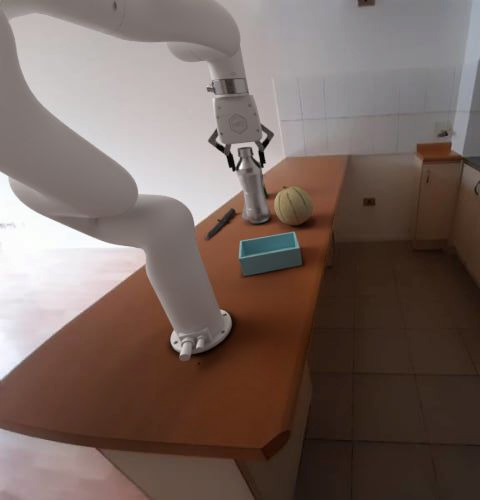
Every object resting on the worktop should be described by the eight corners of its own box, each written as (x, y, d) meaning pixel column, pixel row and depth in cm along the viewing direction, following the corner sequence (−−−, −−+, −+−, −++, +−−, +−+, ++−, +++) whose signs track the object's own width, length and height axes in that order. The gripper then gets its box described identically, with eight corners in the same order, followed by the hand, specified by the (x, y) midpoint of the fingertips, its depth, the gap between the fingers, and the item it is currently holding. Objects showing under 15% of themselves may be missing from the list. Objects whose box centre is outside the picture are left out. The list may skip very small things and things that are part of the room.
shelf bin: (302, 265, 83) (299, 247, 80) (243, 276, 80) (238, 258, 77) (297, 247, 93) (294, 231, 90) (244, 257, 90) (240, 240, 86)
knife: (229, 211, 123) (230, 206, 122) (238, 216, 124) (240, 211, 122) (196, 236, 102) (198, 231, 101) (208, 243, 103) (210, 237, 102)
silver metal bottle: (266, 226, 76) (251, 150, 66) (243, 225, 78) (225, 151, 68) (275, 216, 82) (262, 145, 72) (253, 216, 83) (238, 146, 73)
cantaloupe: (312, 231, 102) (307, 192, 95) (273, 232, 104) (265, 193, 96) (316, 215, 115) (313, 179, 108) (282, 216, 116) (276, 181, 109)
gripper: (188, 92, 58) (212, 176, 67) (270, 86, 62) (283, 167, 71) (193, 92, 65) (215, 169, 74) (268, 87, 68) (280, 161, 77)
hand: (248, 168), depth 72 cm, fingers closed on silver metal bottle, 6 cm apart
